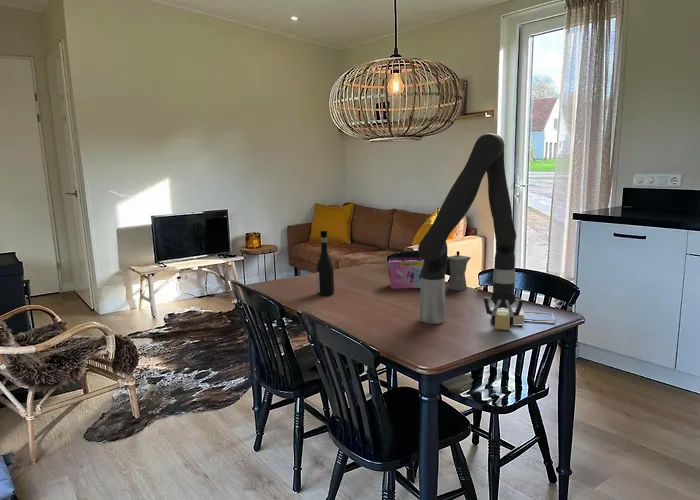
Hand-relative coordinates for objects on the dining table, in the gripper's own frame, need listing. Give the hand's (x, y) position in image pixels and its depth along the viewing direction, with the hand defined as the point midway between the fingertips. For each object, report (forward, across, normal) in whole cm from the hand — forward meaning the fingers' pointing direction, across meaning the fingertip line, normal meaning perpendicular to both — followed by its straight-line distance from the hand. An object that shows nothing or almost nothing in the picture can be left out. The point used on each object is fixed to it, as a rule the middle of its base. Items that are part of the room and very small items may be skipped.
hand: (502, 325), depth 187 cm
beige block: (0, 0, 0) cm, 0 cm away
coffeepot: (+2, -21, +54) cm, 58 cm away
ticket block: (+1, +2, +8) cm, 9 cm away
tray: (+1, +14, +15) cm, 20 cm away
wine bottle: (+2, -79, +33) cm, 85 cm away
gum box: (+2, -41, +55) cm, 69 cm away
